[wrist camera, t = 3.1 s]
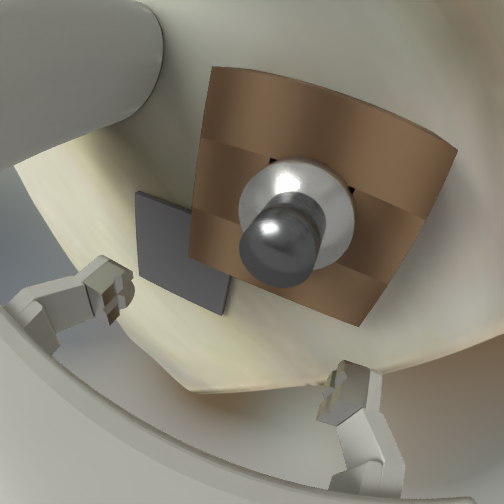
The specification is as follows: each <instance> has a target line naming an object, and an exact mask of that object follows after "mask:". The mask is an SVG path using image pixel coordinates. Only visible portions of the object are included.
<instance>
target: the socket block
mask: <svg viewBox="0 0 504 504" xmlns="http://www.w3.org/2000/svg"><path fill="white" fill-rule="evenodd" d="M457 152H458V150H457V149H456V148H454V147H453V146H452V145H450V144H449V143H448V142H446V141H445V140H443V139H442V138H441V137H439V136H438V135H436V134H435V133H433V132H431V131H429V130H427V129H426V128H424V127H422V126H420V125H417V124H415V123H413V122H411V121H409V120H407V119H405V118H403V117H400V116H398V115H396V114H394V113H391V112H389V111H387V110H384V109H382V108H380V107H377V106H375V105H372V104H370V103H367V102H364V101H362V100H359V99H356V98H354V97H351V96H348V95H345V94H342V93H339V92H336V91H333V90H330V89H327V88H324V87H321V86H317V85H314V84H310V83H307V82H303V81H300V80H296V79H292V78H288V77H284V76H280V75H275V74H271V73H266V72H262V71H257V70H252V69H242V68H230V67H214V66H212V70H211V76H210V81H209V87H208V92H207V98H206V104H205V111H204V117H203V123H202V130H201V137H200V144H199V152H198V159H197V167H196V175H195V184H194V193H193V202H192V212H191V223H190V234H189V247H188V257H189V258H192V259H194V260H196V261H198V262H201V263H203V264H205V265H208V266H210V267H212V268H215V269H217V270H219V271H222V272H224V273H226V274H229V275H231V276H233V277H236V278H238V279H240V280H243V281H245V282H247V283H250V284H252V285H255V286H257V287H259V288H262V289H264V290H267V291H269V292H271V293H274V294H276V295H279V296H281V297H284V298H286V299H289V300H291V301H294V302H296V303H298V304H301V305H303V306H306V307H308V308H311V309H313V310H316V311H319V312H321V313H324V314H326V315H329V316H331V317H334V318H336V319H339V320H341V321H344V322H347V323H349V324H352V325H354V326H357V327H359V326H360V324H361V323H362V322H363V320H364V319H365V317H366V316H367V315H368V313H369V312H370V310H371V309H372V307H373V306H374V305H375V303H376V302H377V300H378V299H379V297H380V296H381V294H382V293H383V291H384V290H385V288H386V287H387V285H388V283H389V282H390V280H391V279H392V277H393V276H394V274H395V272H396V271H397V269H398V268H399V266H400V264H401V263H402V261H403V259H404V258H405V256H406V254H407V253H408V251H409V249H410V247H411V246H412V244H413V242H414V240H415V239H416V237H417V235H418V233H419V231H420V230H421V228H422V226H423V224H424V222H425V220H426V218H427V216H428V214H429V213H430V211H431V209H432V207H433V205H434V203H435V201H436V199H437V197H438V194H439V192H440V190H441V188H442V186H443V184H444V182H445V180H446V177H447V175H448V173H449V171H450V168H451V166H452V164H453V161H454V159H455V157H456V154H457ZM292 156H302V157H308V158H312V159H315V160H318V161H320V162H323V163H325V164H326V165H328V166H330V167H331V168H332V169H334V170H335V171H336V172H337V173H338V174H339V175H340V176H341V177H342V178H343V179H344V180H345V182H346V183H347V185H348V187H349V188H350V190H351V193H352V195H353V198H354V202H355V210H356V213H355V225H354V232H353V237H352V240H351V242H350V244H349V246H348V248H347V250H346V251H345V252H344V253H343V255H342V256H341V257H340V258H339V259H337V260H336V261H335V262H333V263H332V264H330V265H328V266H326V267H323V268H320V269H316V270H313V271H312V273H311V275H310V276H309V278H308V279H307V280H306V281H304V282H303V283H301V284H299V285H297V286H294V287H289V288H279V287H273V286H270V285H267V284H265V283H263V282H261V281H259V280H258V279H256V278H255V277H254V276H253V275H251V274H250V273H249V271H248V270H247V269H246V268H245V266H244V264H243V263H242V260H241V258H240V254H239V242H240V239H241V236H242V234H243V230H242V228H241V224H240V220H239V201H240V197H241V194H242V192H243V190H244V188H245V186H246V185H247V183H248V182H249V181H250V180H251V179H252V177H254V176H255V175H256V174H257V173H258V172H259V171H261V170H262V169H263V168H264V167H265V166H267V165H268V164H270V163H271V162H273V161H276V160H278V159H281V158H285V157H292Z"/></svg>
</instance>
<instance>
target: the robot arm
mask: <svg viewBox="0 0 504 504" xmlns="http://www.w3.org/2000/svg"><path fill="white" fill-rule="evenodd" d="M132 279H133V271H131V270H129V269H127V268H126V267H124V266H122V265H120V264H118V263H117V262H115V261H113V260H111V259H109V258H108V257H106V256H104V255H100V256H98V257H96V258H95V259H94V260H93V261H92V262H90V263H89V264H88V265H87V266H86V267H84V268H83V269H82V270H81V271H80V272H79V273H78V274H77V275H75V276H74V277H72V276H68V277H64V278H60V279H57V280H53V281H49V282H45V283H42V284H38V285H34V286H30V287H27V288H24V289H23V290H21V291H20V292H19V293H18V294H17V295H16V296H15V297H14V298H13V299H12V300H10V301H9V302H8V303H7V304H6V305H5V306H4V307H2V306H1V305H0V504H476V502H475V500H474V499H473V498H472V497H456V498H455V497H454V498H439V499H401V498H400V497H401V491H402V486H403V480H404V473H405V462H404V460H403V458H402V455H401V453H400V451H399V448H398V446H397V444H396V442H395V439H394V437H393V435H392V432H391V430H390V428H389V426H388V424H387V421H386V419H385V417H384V415H383V413H381V412H380V401H381V389H382V372H380V371H377V370H374V369H370V368H368V367H365V366H362V365H359V364H355V363H352V362H349V361H346V360H342V361H341V362H340V363H339V364H338V368H337V370H335V371H333V372H332V373H331V374H330V375H329V377H328V379H327V381H326V383H325V386H324V389H323V393H322V394H323V397H324V400H323V401H322V402H321V403H320V405H319V409H318V413H317V417H316V420H317V421H320V422H324V423H327V424H330V425H333V426H337V427H336V429H337V433H338V436H339V440H340V444H341V447H342V451H343V455H344V458H345V463H346V466H347V470H346V471H343V472H340V473H338V474H335V475H334V476H332V479H331V482H330V486H329V489H328V490H324V489H320V488H315V487H310V486H306V485H302V484H298V483H294V482H290V481H286V480H282V479H279V478H275V477H272V476H268V475H265V474H262V473H259V472H256V471H253V470H250V469H247V468H244V467H242V466H239V465H236V464H233V463H230V462H228V461H226V460H223V459H221V458H218V457H216V456H213V455H211V454H209V453H206V452H204V451H202V450H199V449H197V448H195V447H193V446H191V445H188V444H186V443H184V442H182V441H180V440H178V439H176V438H174V437H172V436H170V435H168V434H167V433H165V432H163V431H161V430H159V429H157V428H155V427H154V426H152V425H150V424H148V423H146V422H145V421H143V420H141V419H140V418H138V417H136V416H135V415H133V414H131V413H130V412H128V411H126V410H125V409H123V408H122V407H120V406H119V405H117V404H115V403H114V402H112V401H111V400H109V399H108V398H106V397H105V396H104V395H102V394H101V393H99V392H98V391H96V390H95V389H94V388H92V387H91V386H90V385H88V384H87V383H85V382H84V381H83V380H81V379H80V378H79V377H78V376H76V375H75V374H74V373H72V372H71V371H70V370H69V369H67V368H66V367H65V366H64V365H63V364H61V363H60V362H59V361H57V359H55V358H54V357H53V356H52V355H53V353H54V352H55V351H56V350H57V349H58V348H59V347H60V341H59V339H58V338H57V336H56V334H57V333H59V332H61V331H64V330H66V329H68V328H71V327H73V326H75V325H78V324H80V323H82V322H85V321H87V320H90V319H92V318H94V317H96V318H97V319H99V320H101V321H102V322H104V323H106V324H107V325H109V326H110V325H111V324H112V323H113V322H114V321H115V320H116V319H117V317H118V316H119V315H120V309H124V308H127V306H128V305H129V304H130V303H131V301H132V299H133V297H134V293H135V287H134V285H133V283H132V281H131V280H132Z"/></svg>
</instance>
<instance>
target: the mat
mask: <svg viewBox="0 0 504 504" xmlns="http://www.w3.org/2000/svg"><path fill="white" fill-rule="evenodd" d="M191 212H192V211H191V210H188V209H186V208H183V207H180V206H178V205H175V204H172V203H170V202H167V201H164V200H162V199H159V198H156V197H154V196H151V195H148V194H145V193H143V192H140V191H138V192H136V193H135V217H136V239H137V254H138V267H139V276H141V277H143V278H145V279H146V280H148V281H150V282H152V283H154V284H156V285H158V286H160V287H162V288H164V289H166V290H168V291H170V292H172V293H174V294H176V295H178V296H180V297H182V298H184V299H186V300H188V301H191V302H193V303H195V304H197V305H199V306H201V307H203V308H205V309H207V310H210V311H212V312H214V313H216V314H218V315H221V316H222V314H223V312H224V307H225V303H226V298H227V293H228V288H229V283H230V278H231V275H229V274H226V273H224V272H222V271H219V270H217V269H215V268H212V267H210V266H208V265H205V264H203V263H201V262H198V261H196V260H194V259H192V258H189V257H188V247H189V234H190V223H191Z"/></svg>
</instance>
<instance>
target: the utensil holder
mask: <svg viewBox="0 0 504 504" xmlns="http://www.w3.org/2000/svg"><path fill="white" fill-rule="evenodd" d="M162 58H163V38H162V32H161V28H160V25H159V23H158V21H157V19H156V17H155V15H154V14H153V13H152V11H151V10H150V9H149V8H148V7H147V6H145V5H144V4H142V3H139V2H137V1H134V0H0V172H1V171H3V170H5V169H7V168H9V167H11V166H13V165H15V164H17V163H20V162H22V161H24V160H26V159H28V158H30V157H32V156H34V155H36V154H39V153H41V152H43V151H45V150H48V149H50V148H52V147H55V146H57V145H60V144H62V143H65V142H67V141H70V140H72V139H75V138H78V137H80V136H83V135H85V134H88V133H90V132H93V131H96V130H98V129H101V128H103V127H106V126H109V125H112V124H114V123H117V122H120V121H122V120H124V119H126V118H128V117H130V116H131V115H132V114H134V113H135V112H136V111H137V110H138V109H139V108H140V107H141V106H142V105H143V104H144V103H145V101H146V100H147V99H148V97H149V96H150V94H151V92H152V90H153V88H154V86H155V84H156V82H157V79H158V76H159V72H160V69H161V64H162Z"/></svg>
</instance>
